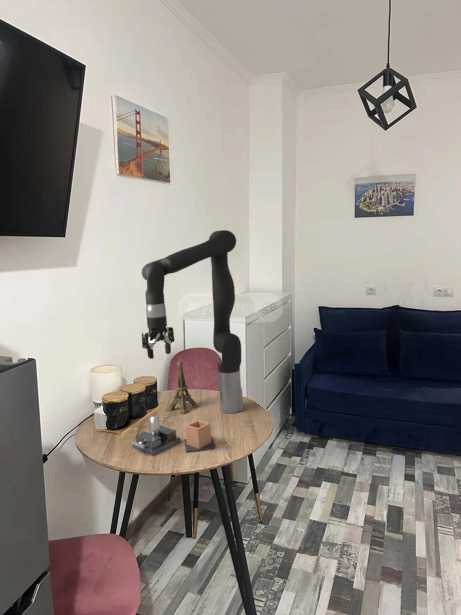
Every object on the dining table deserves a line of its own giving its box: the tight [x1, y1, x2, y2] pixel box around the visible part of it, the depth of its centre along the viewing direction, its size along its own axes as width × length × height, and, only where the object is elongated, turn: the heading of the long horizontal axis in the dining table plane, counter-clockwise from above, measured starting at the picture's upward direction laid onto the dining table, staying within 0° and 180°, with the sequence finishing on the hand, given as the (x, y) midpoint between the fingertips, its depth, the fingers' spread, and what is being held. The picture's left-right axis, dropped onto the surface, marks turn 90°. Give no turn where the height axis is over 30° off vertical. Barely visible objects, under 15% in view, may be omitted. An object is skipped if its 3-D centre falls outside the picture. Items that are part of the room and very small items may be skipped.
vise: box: [131, 414, 181, 457], centre depth 162 cm, size 15×11×10 cm
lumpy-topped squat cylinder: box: [93, 404, 107, 430], centre depth 184 cm, size 10×13×9 cm
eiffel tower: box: [166, 355, 201, 416], centre depth 197 cm, size 11×11×25 cm
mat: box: [184, 435, 216, 454], centre depth 161 cm, size 10×10×1 cm
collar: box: [184, 419, 212, 449], centre depth 161 cm, size 6×6×7 cm
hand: (159, 356), depth 178 cm, fingers open, 8 cm apart
